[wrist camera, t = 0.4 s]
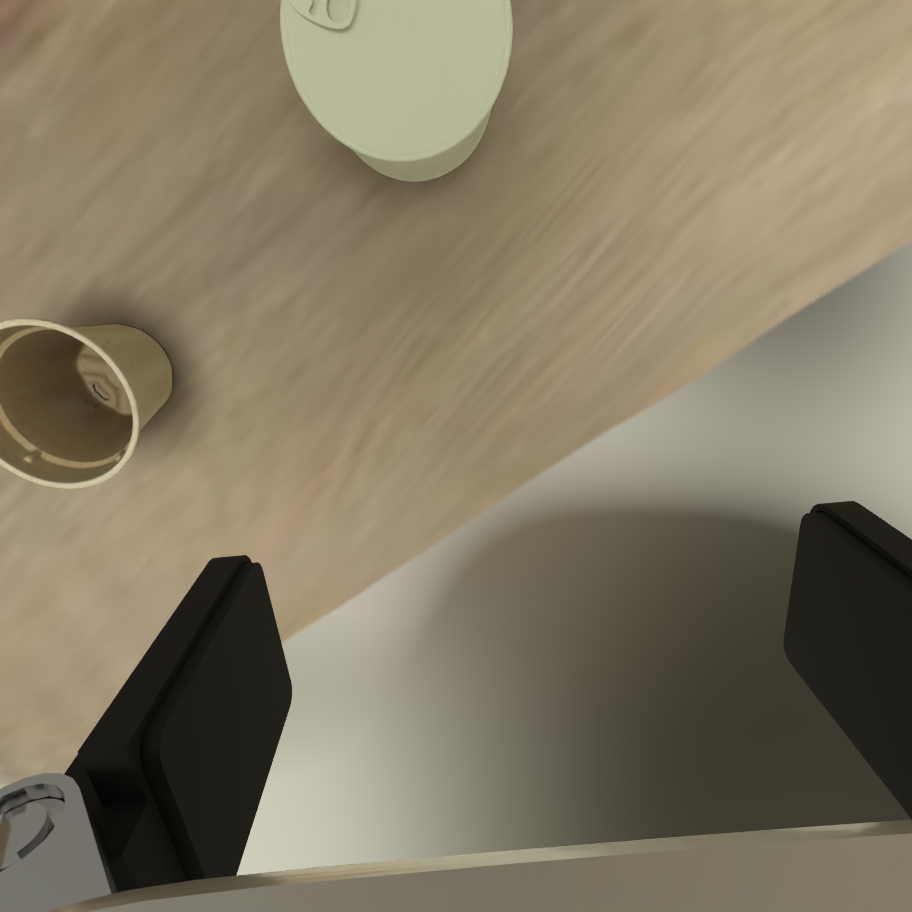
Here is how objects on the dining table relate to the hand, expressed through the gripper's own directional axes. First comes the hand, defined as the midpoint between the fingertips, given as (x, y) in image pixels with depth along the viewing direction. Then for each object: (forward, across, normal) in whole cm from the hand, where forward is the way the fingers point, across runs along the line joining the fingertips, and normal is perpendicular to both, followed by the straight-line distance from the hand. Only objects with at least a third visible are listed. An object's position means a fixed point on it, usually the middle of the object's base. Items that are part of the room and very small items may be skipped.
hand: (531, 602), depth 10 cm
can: (+31, +2, -13) cm, 33 cm away
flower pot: (+31, +23, +1) cm, 38 cm away
